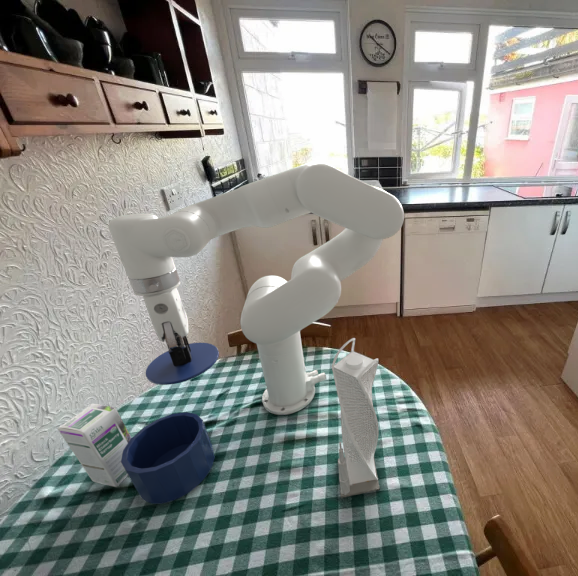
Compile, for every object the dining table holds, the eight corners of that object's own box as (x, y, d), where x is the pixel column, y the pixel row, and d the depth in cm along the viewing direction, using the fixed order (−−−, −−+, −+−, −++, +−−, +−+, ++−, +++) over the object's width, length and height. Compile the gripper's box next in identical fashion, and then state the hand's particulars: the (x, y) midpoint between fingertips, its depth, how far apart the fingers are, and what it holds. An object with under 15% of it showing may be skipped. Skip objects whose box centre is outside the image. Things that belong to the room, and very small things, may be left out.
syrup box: (116, 488, 57) (83, 432, 51) (91, 482, 59) (55, 427, 52) (144, 460, 63) (116, 406, 56) (120, 455, 64) (90, 401, 57)
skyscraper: (338, 455, 63) (324, 339, 51) (377, 448, 64) (373, 333, 52) (340, 497, 55) (326, 373, 43) (385, 488, 57) (383, 365, 45)
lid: (216, 340, 76) (209, 314, 73) (222, 371, 66) (214, 343, 63) (149, 359, 70) (138, 331, 67) (144, 397, 59) (131, 366, 56)
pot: (211, 432, 68) (201, 403, 65) (217, 480, 59) (205, 449, 55) (141, 460, 62) (126, 430, 59) (135, 518, 53) (116, 487, 49)
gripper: (178, 291, 55) (205, 374, 62) (178, 264, 68) (200, 335, 75) (125, 302, 51) (160, 388, 59) (135, 271, 64) (163, 345, 72)
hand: (182, 357), depth 67 cm, fingers closed on lid, 3 cm apart
